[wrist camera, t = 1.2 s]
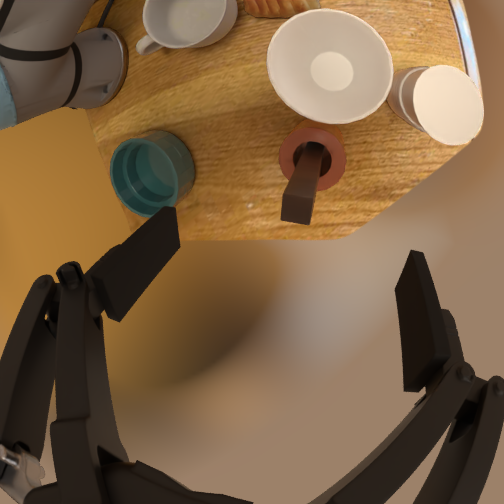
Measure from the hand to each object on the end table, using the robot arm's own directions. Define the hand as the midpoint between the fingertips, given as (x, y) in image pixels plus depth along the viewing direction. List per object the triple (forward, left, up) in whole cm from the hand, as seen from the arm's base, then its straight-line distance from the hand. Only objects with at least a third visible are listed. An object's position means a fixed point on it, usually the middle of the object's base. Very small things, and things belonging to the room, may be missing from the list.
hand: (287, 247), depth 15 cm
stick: (0, 0, -24) cm, 24 cm away
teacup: (-17, -17, -25) cm, 35 cm away
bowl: (+6, -24, -25) cm, 35 cm away
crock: (0, 0, -25) cm, 25 cm away
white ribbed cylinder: (-9, +11, -25) cm, 29 cm away
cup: (-10, +1, -25) cm, 27 cm away
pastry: (-20, -5, -25) cm, 33 cm away
